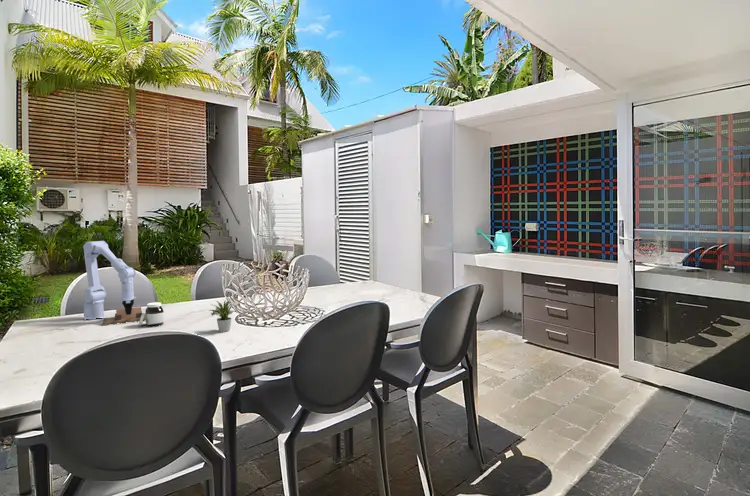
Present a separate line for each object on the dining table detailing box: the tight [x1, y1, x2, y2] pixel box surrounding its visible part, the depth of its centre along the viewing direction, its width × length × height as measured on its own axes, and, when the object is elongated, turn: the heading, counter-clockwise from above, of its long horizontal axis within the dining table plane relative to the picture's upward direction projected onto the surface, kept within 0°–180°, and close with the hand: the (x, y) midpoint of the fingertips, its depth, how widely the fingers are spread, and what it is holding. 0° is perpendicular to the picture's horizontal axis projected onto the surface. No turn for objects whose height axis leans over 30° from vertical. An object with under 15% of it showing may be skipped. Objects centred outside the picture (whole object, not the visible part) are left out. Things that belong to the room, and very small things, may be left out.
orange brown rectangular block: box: [115, 306, 142, 319], centre depth 236 cm, size 12×3×6 cm, turn 120°
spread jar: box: [137, 301, 165, 327], centre depth 225 cm, size 12×11×12 cm
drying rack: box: [102, 310, 146, 326], centre depth 236 cm, size 24×12×4 cm, turn 120°
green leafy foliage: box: [214, 299, 235, 315], centre depth 269 cm, size 34×5×10 cm
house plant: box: [208, 300, 234, 333], centre depth 215 cm, size 14×14×16 cm
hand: (128, 313), depth 236 cm, fingers closed on orange brown rectangular block, 3 cm apart
